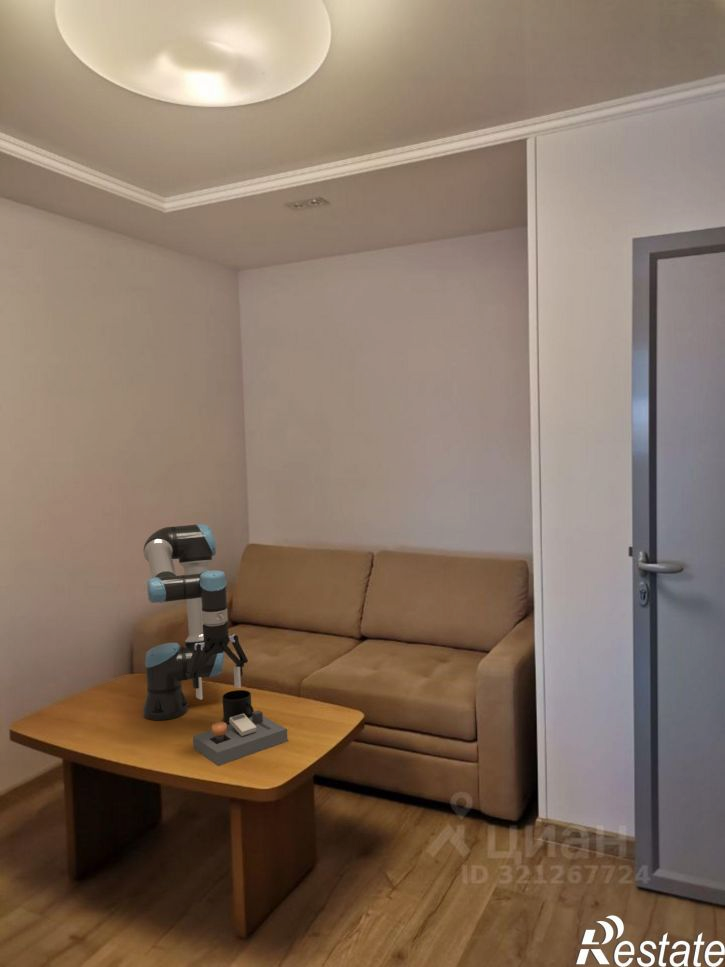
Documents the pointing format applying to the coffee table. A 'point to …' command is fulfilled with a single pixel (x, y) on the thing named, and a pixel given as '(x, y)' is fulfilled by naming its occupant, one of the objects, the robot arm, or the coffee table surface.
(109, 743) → the coffee table surface
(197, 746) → the panel
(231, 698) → the mug
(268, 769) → the coffee table surface
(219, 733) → the button
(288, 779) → the coffee table surface
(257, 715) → the slider
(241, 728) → the rocker
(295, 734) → the coffee table surface
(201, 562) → the robot arm
